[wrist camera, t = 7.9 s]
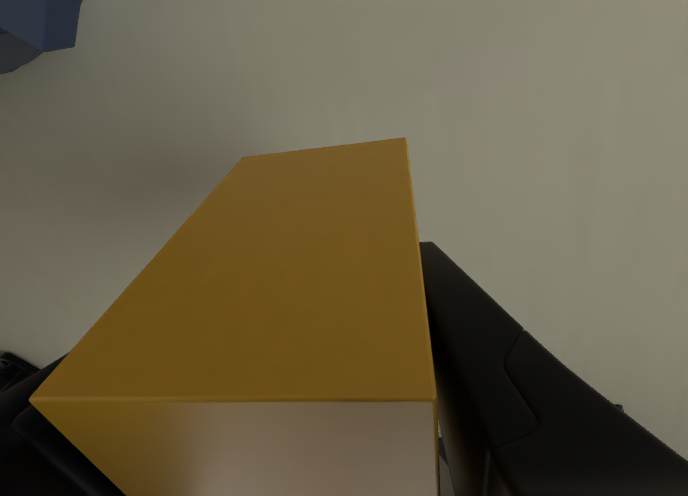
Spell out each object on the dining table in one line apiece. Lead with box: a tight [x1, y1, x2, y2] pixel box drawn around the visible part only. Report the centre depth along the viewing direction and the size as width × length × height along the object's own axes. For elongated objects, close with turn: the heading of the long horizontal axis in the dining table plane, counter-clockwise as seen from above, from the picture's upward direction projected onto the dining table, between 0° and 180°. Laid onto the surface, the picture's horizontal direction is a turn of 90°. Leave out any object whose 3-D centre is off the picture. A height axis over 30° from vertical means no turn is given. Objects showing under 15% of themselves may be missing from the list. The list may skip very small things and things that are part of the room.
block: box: [29, 138, 440, 496], centre depth 8 cm, size 4×4×7 cm
